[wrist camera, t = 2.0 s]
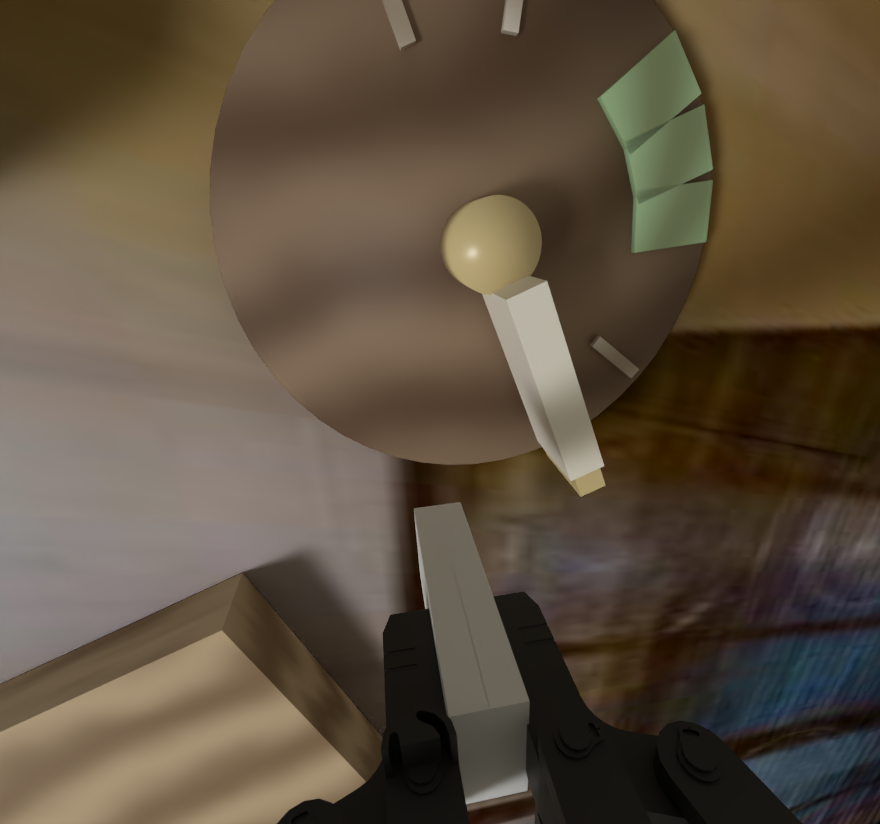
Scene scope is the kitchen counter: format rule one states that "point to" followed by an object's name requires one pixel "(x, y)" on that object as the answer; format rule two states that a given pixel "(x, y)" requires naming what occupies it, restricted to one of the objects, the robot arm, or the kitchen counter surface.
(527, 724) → the robot arm
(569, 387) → the white bar with ball
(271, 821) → the block
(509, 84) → the dial
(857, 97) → the kitchen counter surface
